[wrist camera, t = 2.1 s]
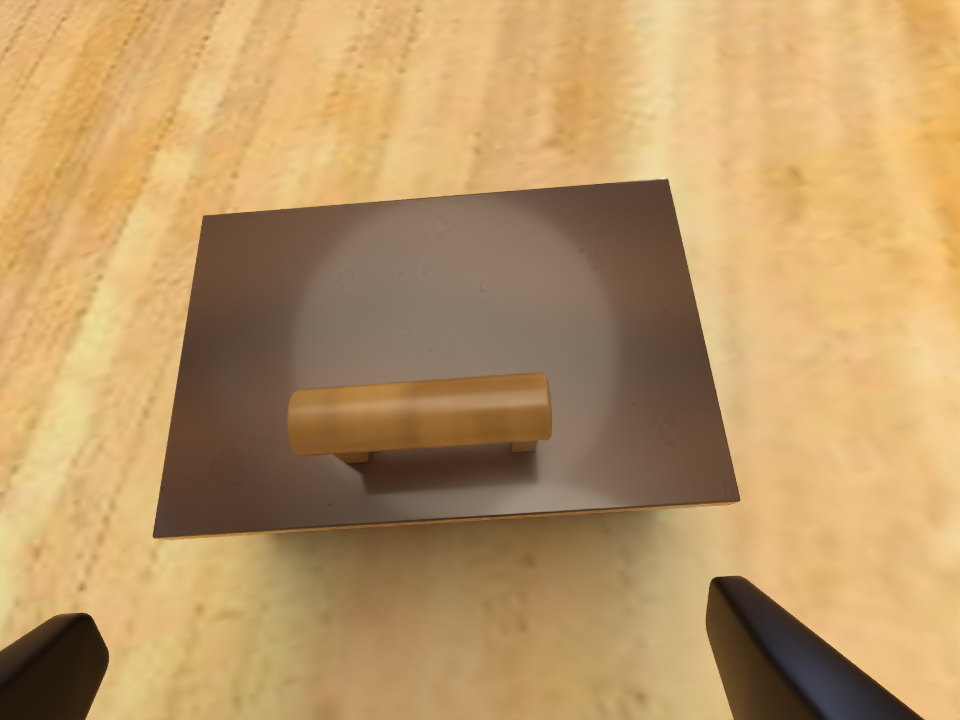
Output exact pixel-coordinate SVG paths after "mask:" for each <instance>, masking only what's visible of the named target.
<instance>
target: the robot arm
mask: <svg viewBox="0 0 960 720" xmlns="http://www.w3.org/2000/svg"><path fill="white" fill-rule="evenodd" d="M706 630H707V635H708V638H709V642H710V645H711V648H712V651H713V654H714V658H715V661H716V664H717V667H718V670H719V673H720V677H721V680H722V683H723V686H724V689H725V693H726V696H727V699H728V702H729V705H730V709H731V712H732V715H733V718H734V720H924V719H923V718H922V717H920V716H919V715H918V714H917V713H915V712H914V711H913V710H912V709H910V708H909V707H908V706H907V705H905V704H904V703H903V702H901V701H900V700H899V699H898V698H896V697H895V696H894V695H893V694H891V693H890V692H889V691H888V690H886V689H885V688H884V687H882V686H881V685H880V684H879V683H877V682H876V681H875V680H874V679H872V678H871V677H870V676H869V675H867V674H866V673H865V672H863V671H862V670H861V669H860V668H858V667H857V666H856V665H855V664H853V663H852V662H851V661H850V660H848V659H847V658H846V657H844V656H843V655H842V654H841V653H839V652H838V651H837V650H836V649H834V648H833V647H832V646H831V645H829V644H828V643H827V642H825V641H824V640H823V639H822V638H820V637H819V636H818V635H817V634H815V633H814V632H813V631H812V630H810V629H809V628H808V627H806V626H805V625H804V624H803V623H801V622H800V621H799V620H798V619H796V618H795V617H794V616H793V615H791V614H790V613H789V612H787V611H786V610H785V609H784V608H782V607H781V606H780V605H779V604H777V603H776V602H775V601H774V600H772V599H771V598H770V597H769V596H767V595H766V594H765V593H763V592H762V591H761V590H760V589H758V588H757V587H756V586H755V585H753V584H752V583H751V582H750V581H748V580H747V579H745V578H743V577H741V576H726V577H715V578H713V579H712V580H711V582H710V587H709V595H708V603H707V611H706ZM108 663H109V651H108V648H107V646H106V644H105V642H104V640H103V638H102V636H101V634H100V632H99V630H98V628H97V626H96V624H95V622H94V620H93V618H92V617H91V616H90V615H88V614H87V613H70V614H60V615H56V616H54V617H52V618H50V619H49V620H47V621H46V622H44V623H43V624H41V625H40V626H38V627H37V628H35V629H34V630H32V631H31V632H29V633H28V634H26V635H24V636H23V637H21V638H20V639H18V640H17V641H15V642H14V643H12V644H11V645H9V646H8V647H6V648H5V649H3V650H2V651H0V720H85V719H86V717H87V715H88V712H89V710H90V708H91V705H92V703H93V701H94V698H95V696H96V694H97V691H98V689H99V687H100V684H101V682H102V680H103V677H104V675H105V673H106V670H107V667H108Z"/></svg>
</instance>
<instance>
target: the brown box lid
mask: <svg viewBox="0 0 960 720" xmlns="http://www.w3.org/2000/svg"><path fill="white" fill-rule="evenodd" d="M739 501H740V496H739V491H738V487H737V482H736V478H735V474H734V469H733V465H732V460H731V456H730V451H729V447H728V443H727V438H726V434H725V429H724V425H723V420H722V416H721V411H720V407H719V403H718V398H717V394H716V389H715V385H714V380H713V376H712V372H711V367H710V363H709V358H708V354H707V349H706V345H705V341H704V336H703V332H702V327H701V323H700V318H699V314H698V309H697V305H696V301H695V296H694V292H693V287H692V283H691V278H690V274H689V270H688V265H687V261H686V256H685V252H684V247H683V243H682V238H681V234H680V230H679V225H678V221H677V216H676V212H675V207H674V203H673V199H672V194H671V190H670V185H669V181H668V179H655V180H642V181H630V182H618V183H605V184H593V185H580V186H568V187H555V188H543V189H530V190H518V191H505V192H493V193H480V194H468V195H455V196H443V197H430V198H418V199H405V200H393V201H380V202H368V203H356V204H343V205H331V206H318V207H306V208H293V209H281V210H268V211H256V212H243V213H231V214H218V215H206V216H203V220H202V226H201V233H200V239H199V245H198V252H197V258H196V265H195V271H194V277H193V284H192V290H191V296H190V303H189V309H188V315H187V322H186V328H185V334H184V341H183V347H182V353H181V360H180V366H179V373H178V379H177V385H176V392H175V398H174V404H173V411H172V417H171V423H170V430H169V436H168V442H167V449H166V455H165V461H164V468H163V474H162V480H161V487H160V493H159V500H158V506H157V512H156V519H155V525H154V531H153V538H155V539H165V540H177V539H193V538H209V537H225V536H241V535H257V534H273V533H289V532H305V531H321V530H337V529H352V528H368V527H384V526H400V525H416V524H432V523H448V522H464V521H480V520H496V519H512V518H528V517H544V516H560V515H576V514H592V513H608V512H624V511H640V510H656V509H672V508H688V507H704V506H720V505H730V504H733V503H737V502H739Z"/></svg>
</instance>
